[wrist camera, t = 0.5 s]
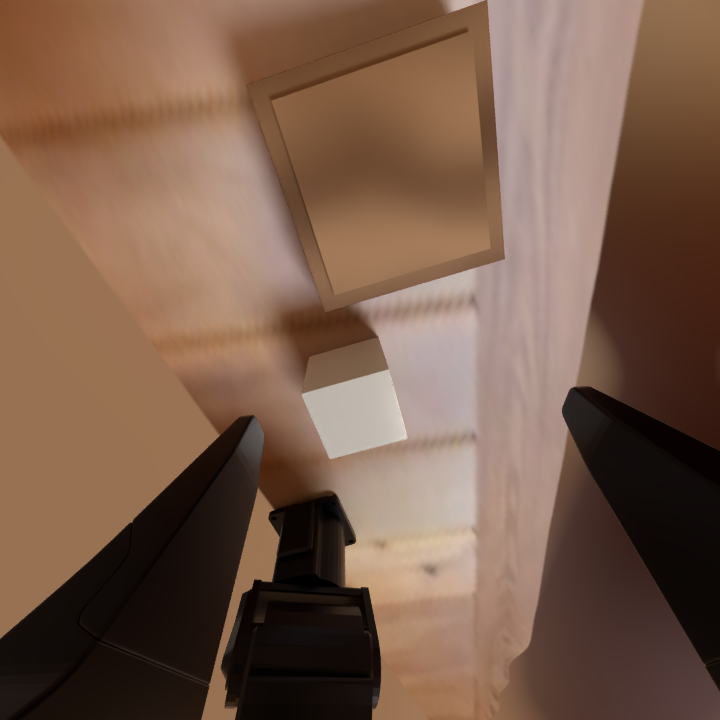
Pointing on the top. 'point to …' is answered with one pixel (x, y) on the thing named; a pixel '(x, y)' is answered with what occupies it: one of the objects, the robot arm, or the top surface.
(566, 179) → the top surface
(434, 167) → the walnut plinth
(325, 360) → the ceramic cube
